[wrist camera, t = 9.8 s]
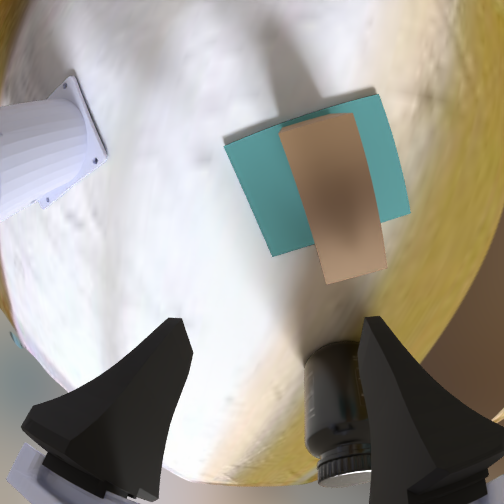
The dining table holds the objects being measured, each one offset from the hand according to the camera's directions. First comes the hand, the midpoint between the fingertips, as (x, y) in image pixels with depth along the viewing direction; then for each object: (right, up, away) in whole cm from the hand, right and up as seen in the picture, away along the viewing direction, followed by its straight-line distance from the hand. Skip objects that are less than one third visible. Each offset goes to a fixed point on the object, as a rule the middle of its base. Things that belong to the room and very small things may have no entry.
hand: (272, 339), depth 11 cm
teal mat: (+4, +8, +6) cm, 11 cm away
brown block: (+4, +8, +5) cm, 10 cm away
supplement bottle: (+8, -7, +14) cm, 17 cm away
